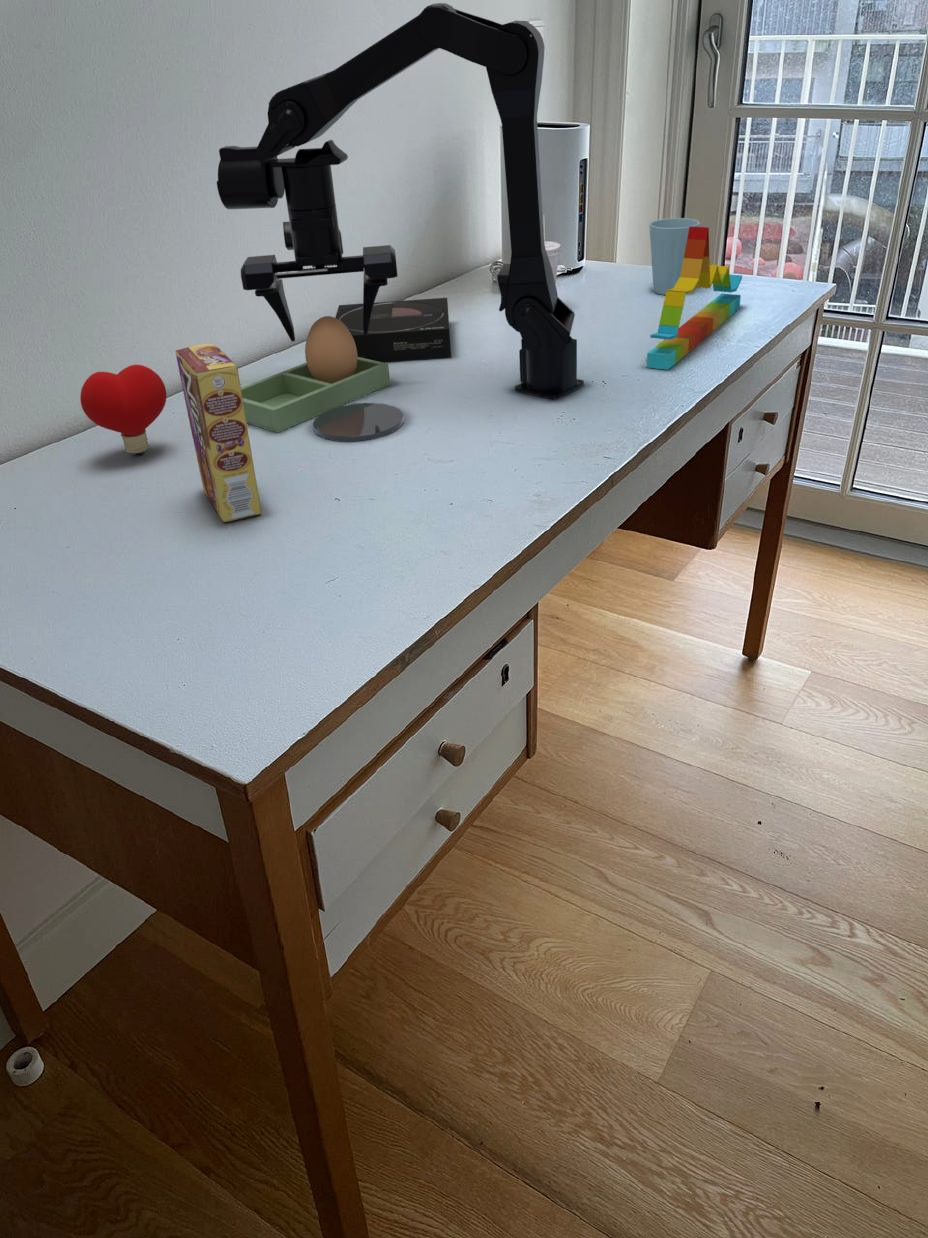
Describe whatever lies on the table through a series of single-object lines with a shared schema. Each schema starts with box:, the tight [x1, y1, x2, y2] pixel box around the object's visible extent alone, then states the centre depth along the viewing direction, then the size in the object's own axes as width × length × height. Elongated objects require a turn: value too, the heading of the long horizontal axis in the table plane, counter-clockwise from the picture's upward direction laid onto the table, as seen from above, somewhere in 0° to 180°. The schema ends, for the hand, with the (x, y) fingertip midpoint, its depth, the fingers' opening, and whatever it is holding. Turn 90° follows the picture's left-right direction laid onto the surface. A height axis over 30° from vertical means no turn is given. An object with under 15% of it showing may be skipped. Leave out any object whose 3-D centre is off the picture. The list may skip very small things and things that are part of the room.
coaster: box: [312, 402, 405, 442], centre depth 117 cm, size 11×11×1 cm
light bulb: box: [79, 364, 168, 457], centre depth 110 cm, size 9×7×10 cm
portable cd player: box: [334, 297, 452, 363], centre depth 142 cm, size 16×17×4 cm
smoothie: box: [543, 214, 562, 286], centre depth 149 cm, size 6×6×14 cm
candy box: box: [174, 343, 262, 523], centre depth 96 cm, size 9×4×15 cm, turn 26°
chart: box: [645, 226, 743, 371], centre depth 134 cm, size 30×3×15 cm, turn 150°
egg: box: [304, 315, 358, 384], centre depth 125 cm, size 7×7×9 cm
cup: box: [648, 217, 701, 296], centre depth 155 cm, size 8×8×10 cm
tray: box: [241, 357, 391, 434], centre depth 124 cm, size 10×19×3 cm, turn 140°
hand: (329, 337), depth 124 cm, fingers open, 9 cm apart
